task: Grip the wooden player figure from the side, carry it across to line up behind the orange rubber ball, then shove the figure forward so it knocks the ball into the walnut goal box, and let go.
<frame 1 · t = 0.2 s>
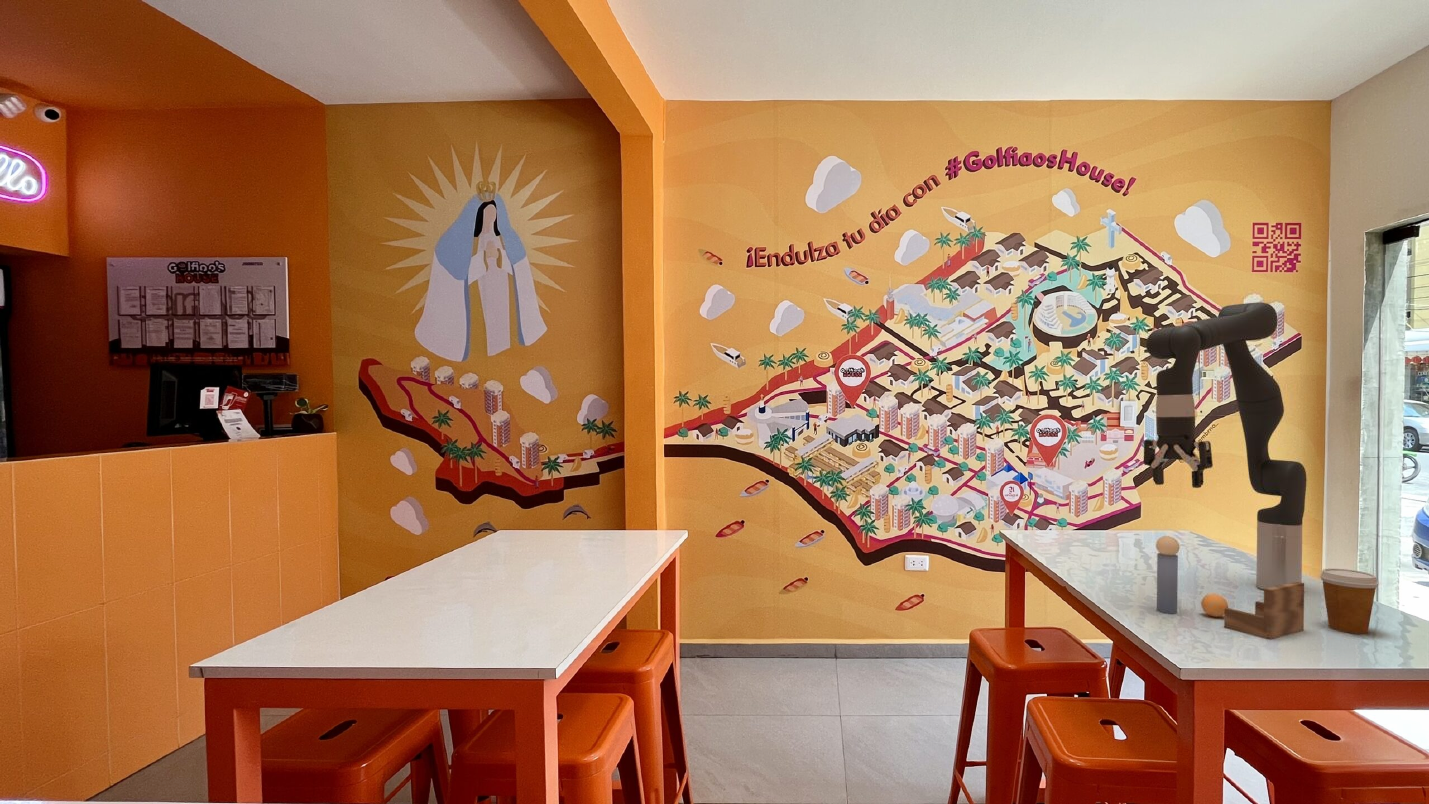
hand: (1177, 486, 166), 29 cm above the table, tool pointing down, fingers open, 8 cm apart
disposable coffee cup: (1347, 630, 155), on the table
goal: (1262, 628, 155), on the table
player figure: (1166, 611, 167), on the table
ball: (1214, 605, 163), point 2 cm above the table
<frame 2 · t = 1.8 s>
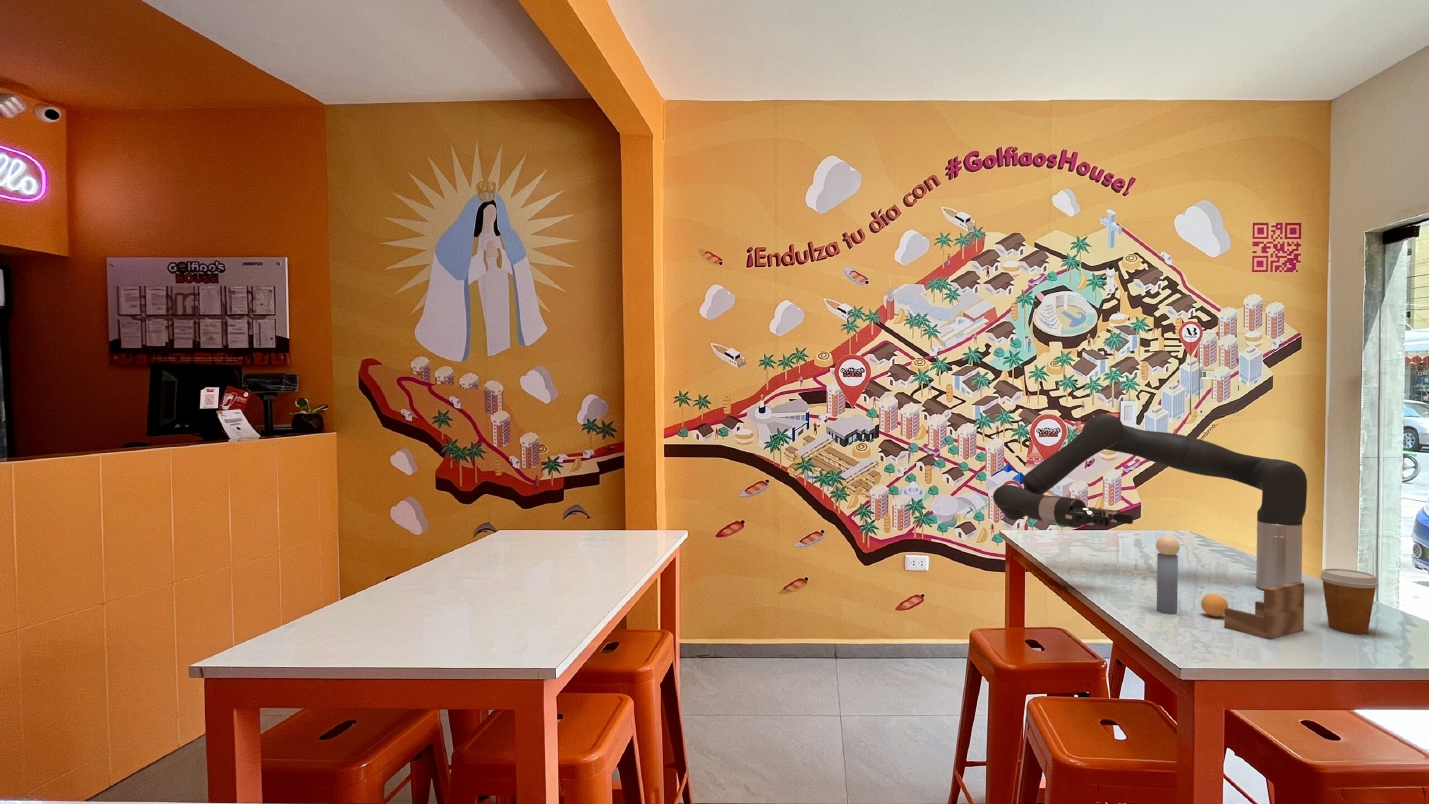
hand: (1121, 521, 177), 19 cm above the table, tool horizontal, fingers open, 8 cm apart
nothing on the table moved.
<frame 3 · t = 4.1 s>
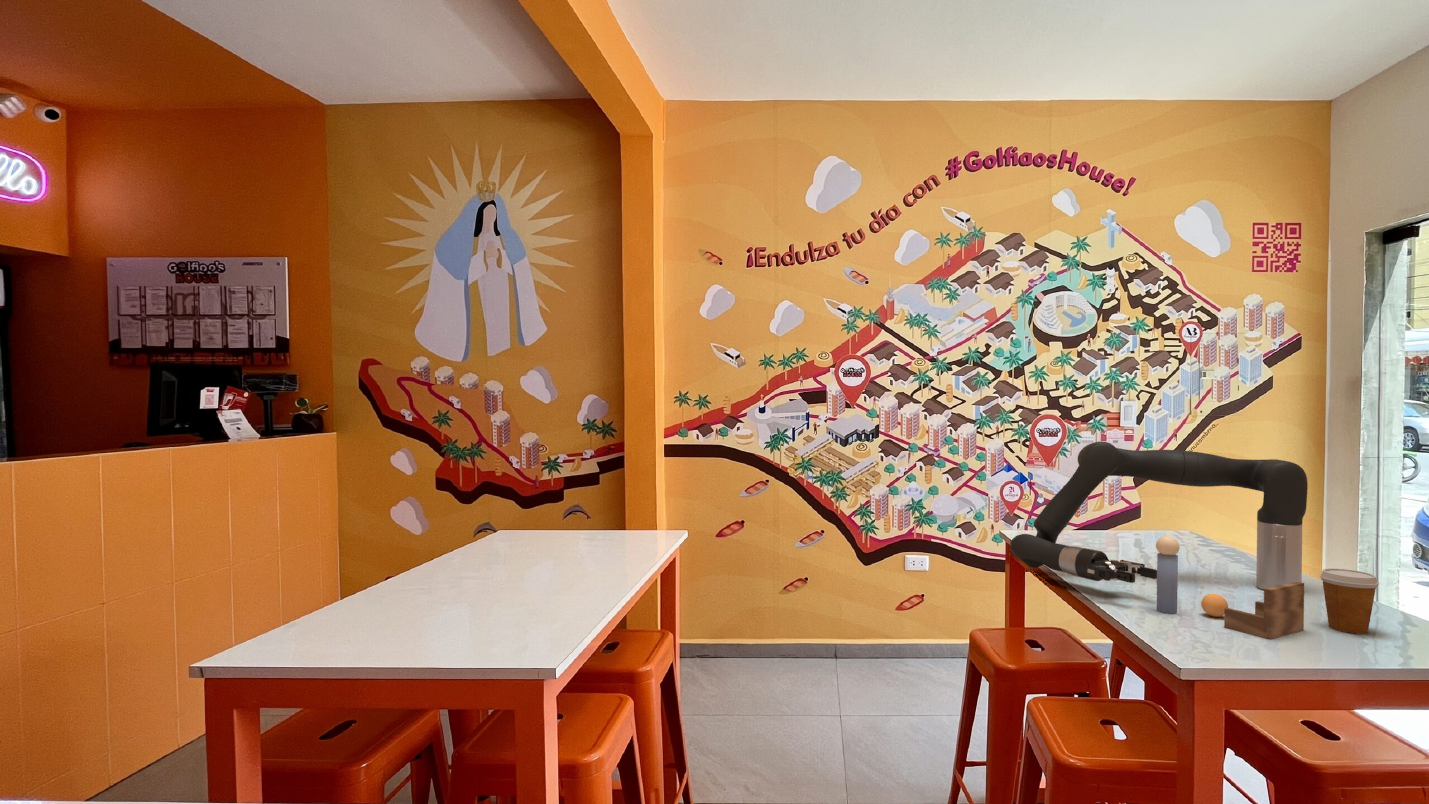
hand: (1145, 576, 171), 7 cm above the table, tool horizontal, fingers open, 8 cm apart
nothing on the table moved.
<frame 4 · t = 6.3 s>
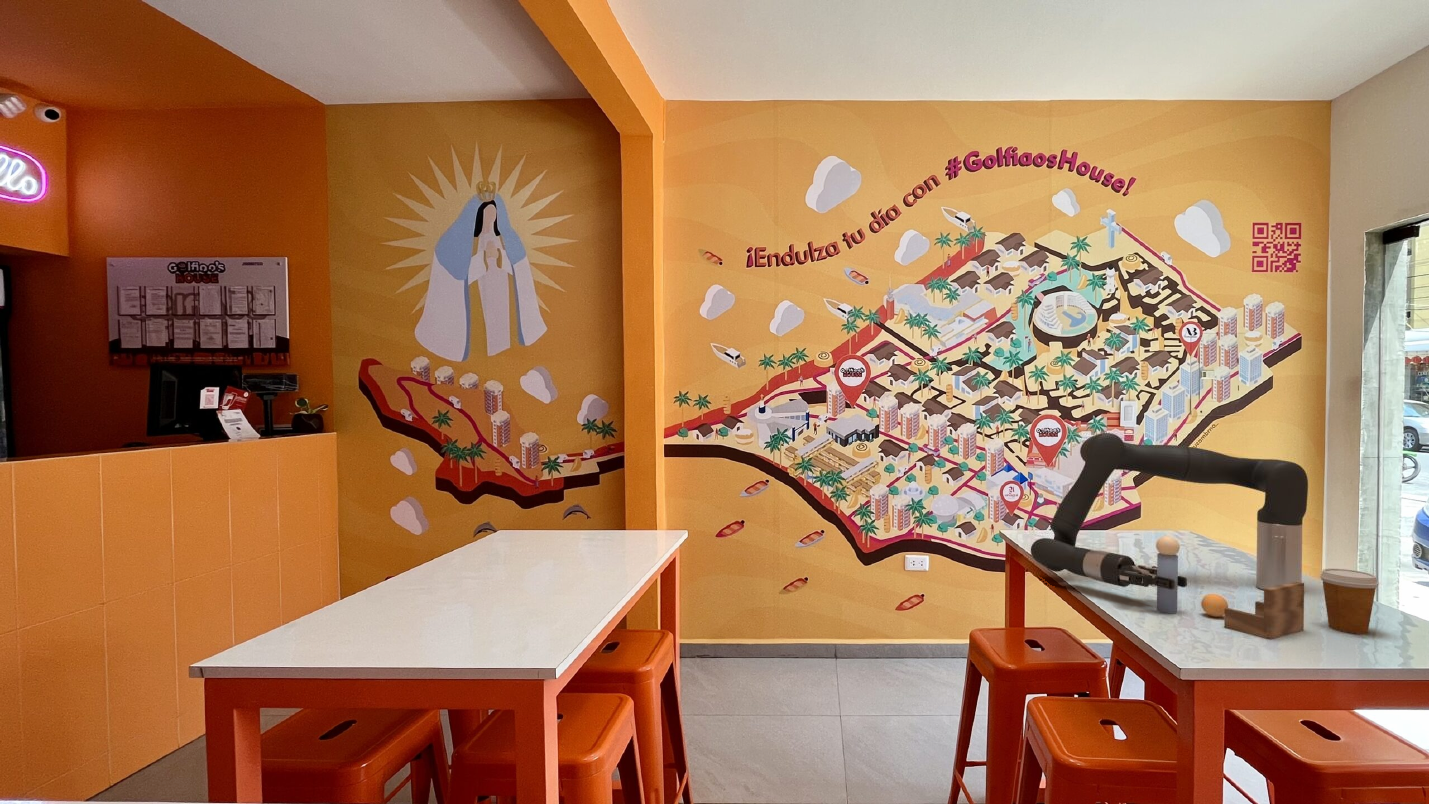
hand: (1179, 583, 164), 7 cm above the table, tool horizontal, fingers closed on player figure, 4 cm apart
player figure: (1166, 611, 167), on the table, touching gripper
everything else where it was.
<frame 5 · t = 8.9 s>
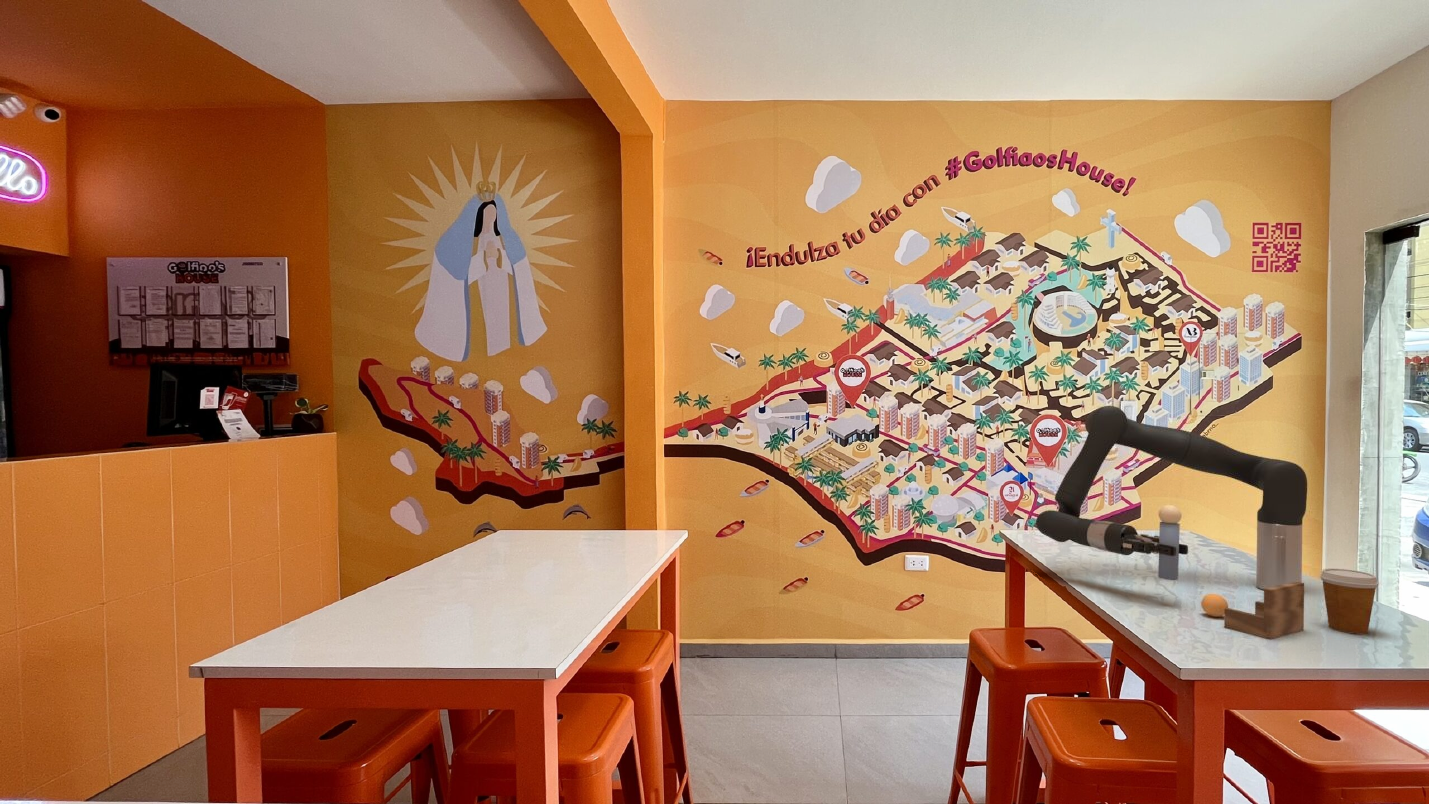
hand: (1180, 550, 170), 13 cm above the table, tool horizontal, fingers closed on player figure, 4 cm apart
player figure: (1168, 577, 172), point 6 cm above the table, touching gripper
everything else where it was.
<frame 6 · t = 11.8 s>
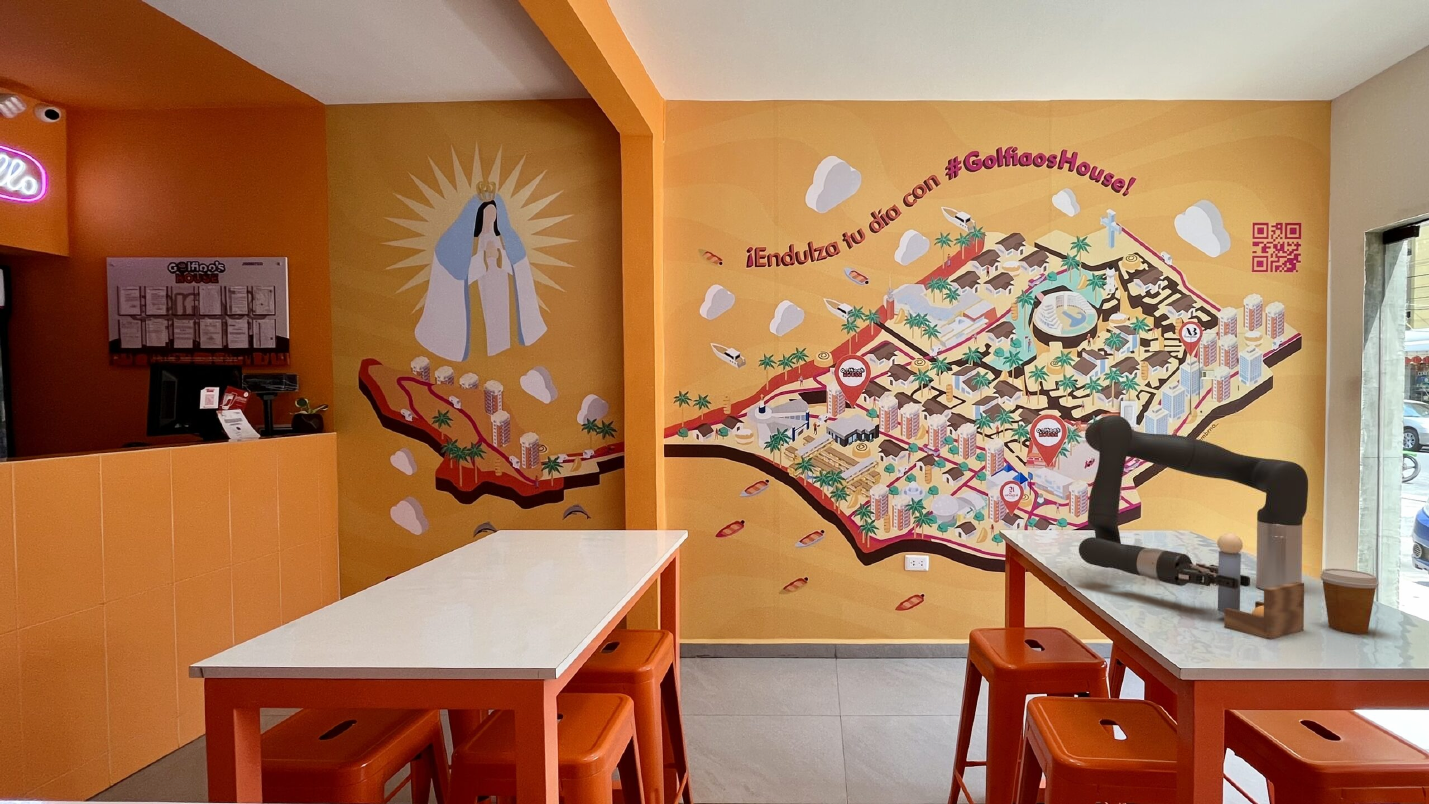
hand: (1243, 582, 158), 9 cm above the table, tool horizontal, fingers closed on player figure, 4 cm apart
player figure: (1228, 611, 161), point 2 cm above the table, touching gripper
ball: (1266, 617, 154), point 2 cm above the table, tilted 127°
everything else where it was.
when the fingers open (9 cm above the table, at t = 12.0 s): player figure drops 2 cm, on the table.
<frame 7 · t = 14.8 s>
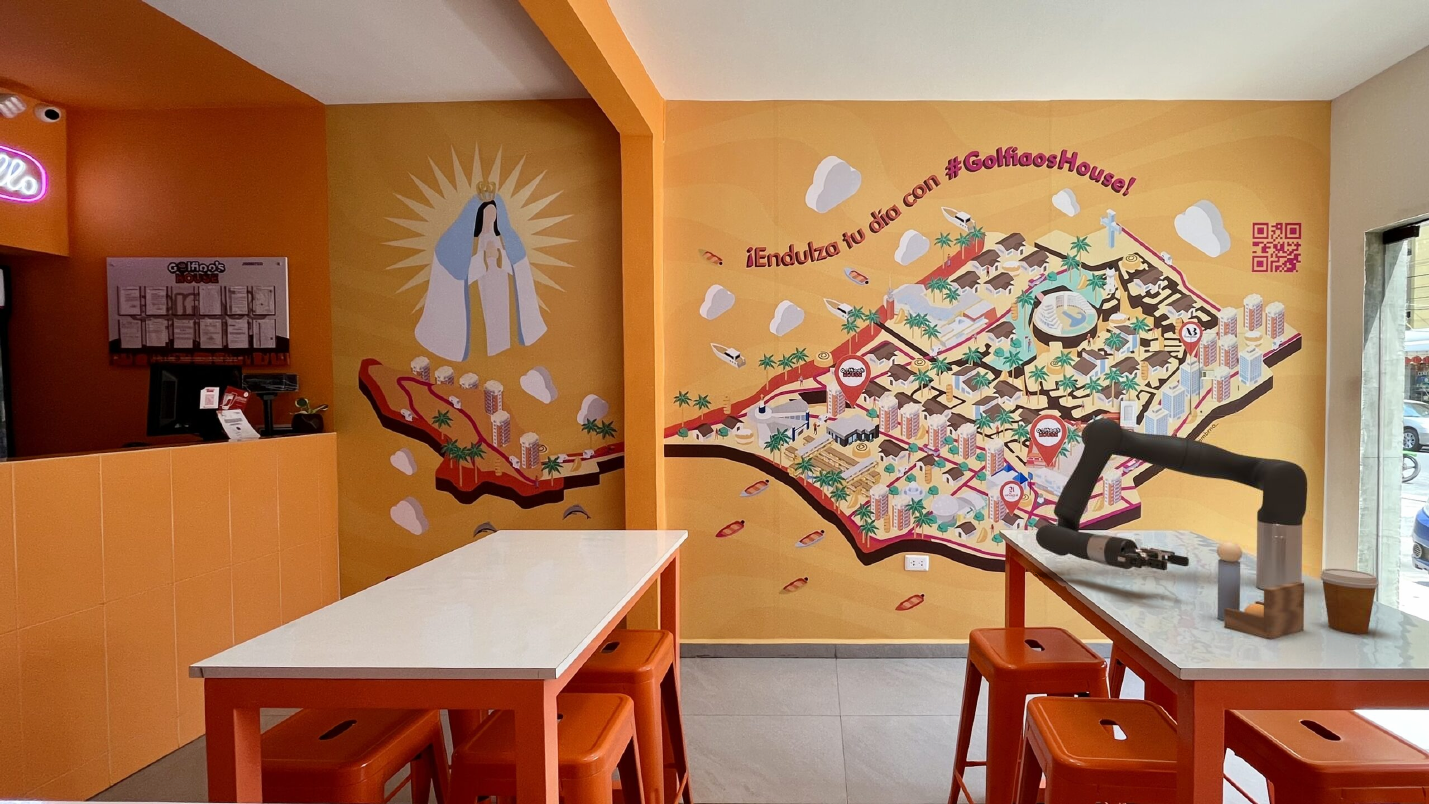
hand: (1177, 563, 171), 10 cm above the table, tool horizontal, fingers open, 8 cm apart
player figure: (1228, 619, 161), on the table
ball: (1258, 615, 156), point 2 cm above the table, tilted 161°
everything else where it was.
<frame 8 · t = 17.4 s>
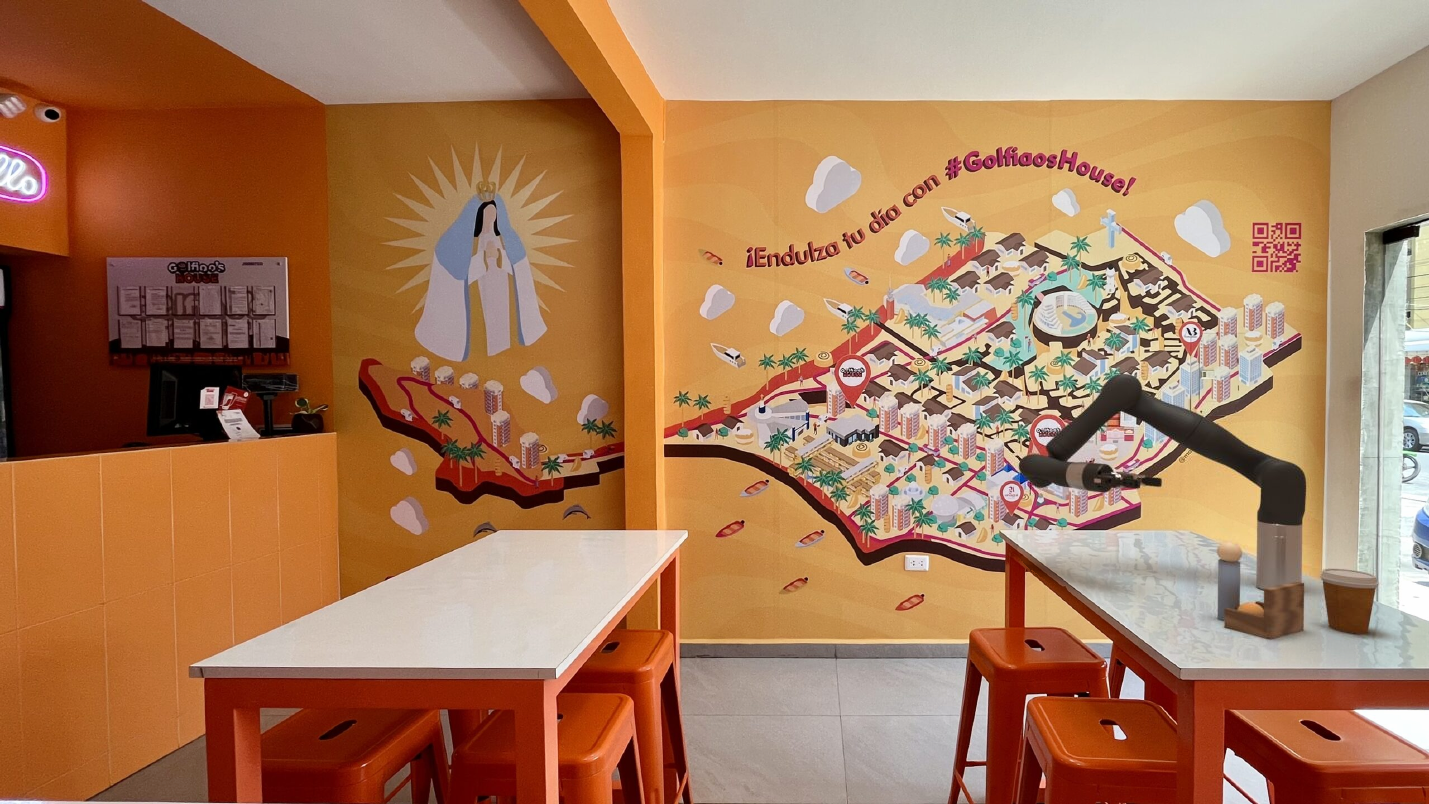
hand: (1150, 483, 179), 28 cm above the table, tool horizontal, fingers open, 8 cm apart
ball: (1251, 614, 157), point 2 cm above the table, tilted 169°
everything else where it was.
at the end: ball inside the target area (1.8 cm from its centre), point 2.5 cm above the table; player figure tilted 0°; the gripper is holding nothing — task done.
